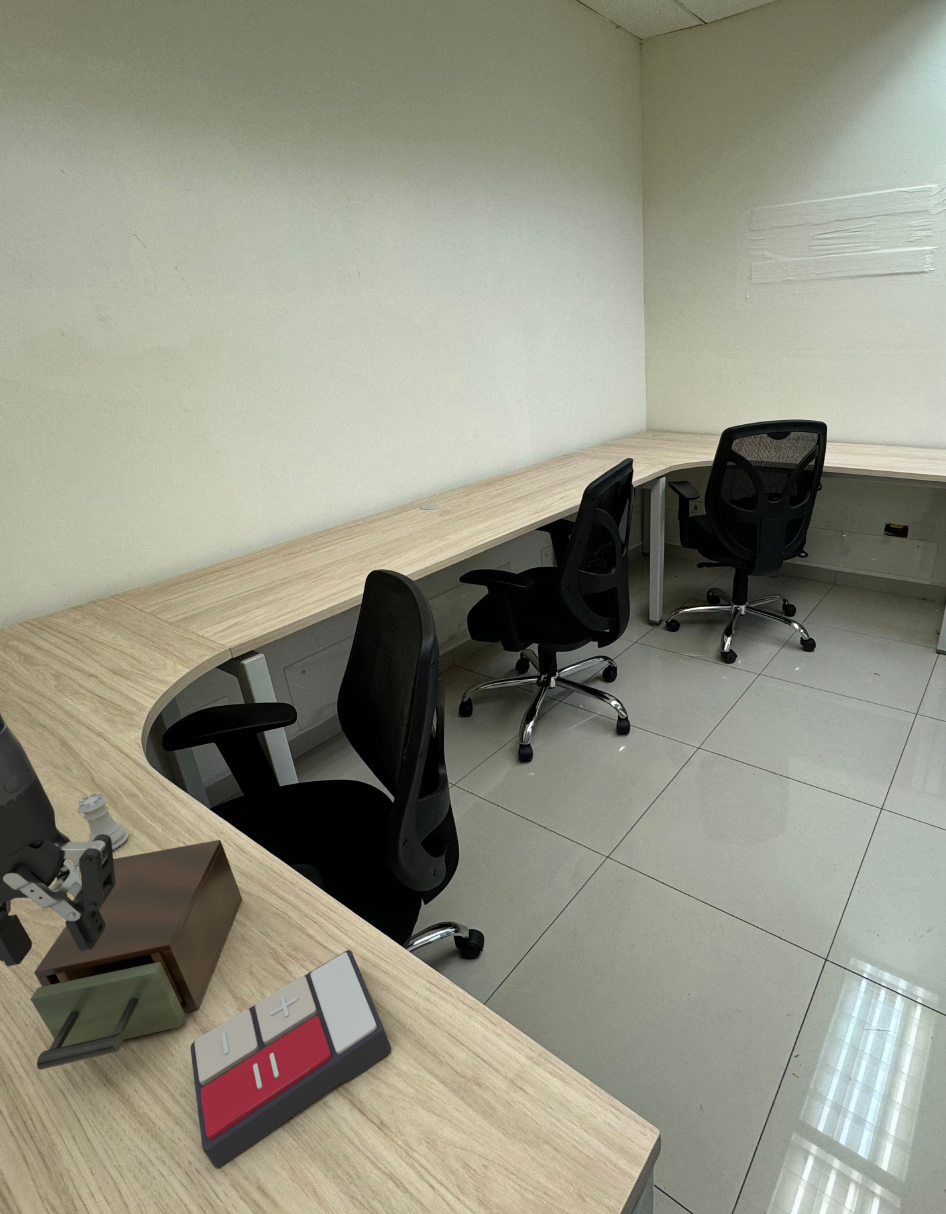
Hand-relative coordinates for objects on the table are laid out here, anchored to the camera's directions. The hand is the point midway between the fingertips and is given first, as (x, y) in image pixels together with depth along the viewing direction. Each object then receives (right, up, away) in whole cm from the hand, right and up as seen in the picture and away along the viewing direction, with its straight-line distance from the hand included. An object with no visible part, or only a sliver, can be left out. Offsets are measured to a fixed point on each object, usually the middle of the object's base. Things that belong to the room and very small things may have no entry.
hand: (56, 948), depth 54 cm
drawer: (-1, -11, +11) cm, 16 cm away
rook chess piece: (-22, -4, +34) cm, 41 cm away
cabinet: (-2, -10, +16) cm, 19 cm away
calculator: (+18, -14, +5) cm, 23 cm away
